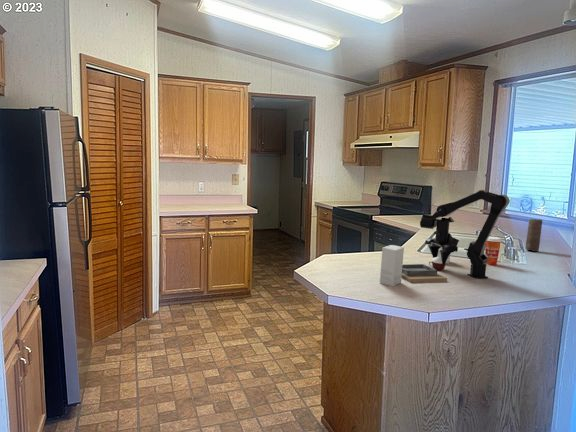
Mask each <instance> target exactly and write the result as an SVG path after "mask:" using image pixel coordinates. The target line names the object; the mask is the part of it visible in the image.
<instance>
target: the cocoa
mask: <svg viewBox="0 0 576 432" xmlns="http://www.w3.org/2000/svg"><path fill="white" fill-rule="evenodd" d="M431 264H432V265H431ZM446 265H447V264H446V263H445V264H442V259H441V257H440V256H437V257H434V258H433V257H432V261H429V262H428V266H429V267H431V268H433V269H435V270H438V271H443V270H444V269H445V268H446Z"/></svg>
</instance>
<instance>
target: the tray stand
mask: <svg viewBox="0 0 576 432" xmlns="http://www.w3.org/2000/svg"><path fill="white" fill-rule="evenodd" d="M438 272H439V270H435V269H434V268H432V267H431V266H430V265H426V264H423V263H421V264H420V263H416V264H415V263H412V264H411V263H410V264H407V263H406V264H402V276H401V279H403V280H405V281H406V282H408V283H437V282H438V283H439V282H440V283H441V282H442V283H443V282H448V277H447V276H443V275H441V274H440V273H438Z"/></svg>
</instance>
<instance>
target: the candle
mask: <svg viewBox="0 0 576 432" xmlns="http://www.w3.org/2000/svg"><path fill="white" fill-rule="evenodd" d="M542 225H543V219H541V218H539V219H538V218H537V219H535V218H534V219H532V218H531V219H529V220H528V227H527V235H526V240H525V241H526V242H525V248H524V249H525V250H526V249H527V250H532V251H531V252H539V250H540V243H541V237H542V236H541V235H542V227H543V226H542ZM527 250H526V251H527Z"/></svg>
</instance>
